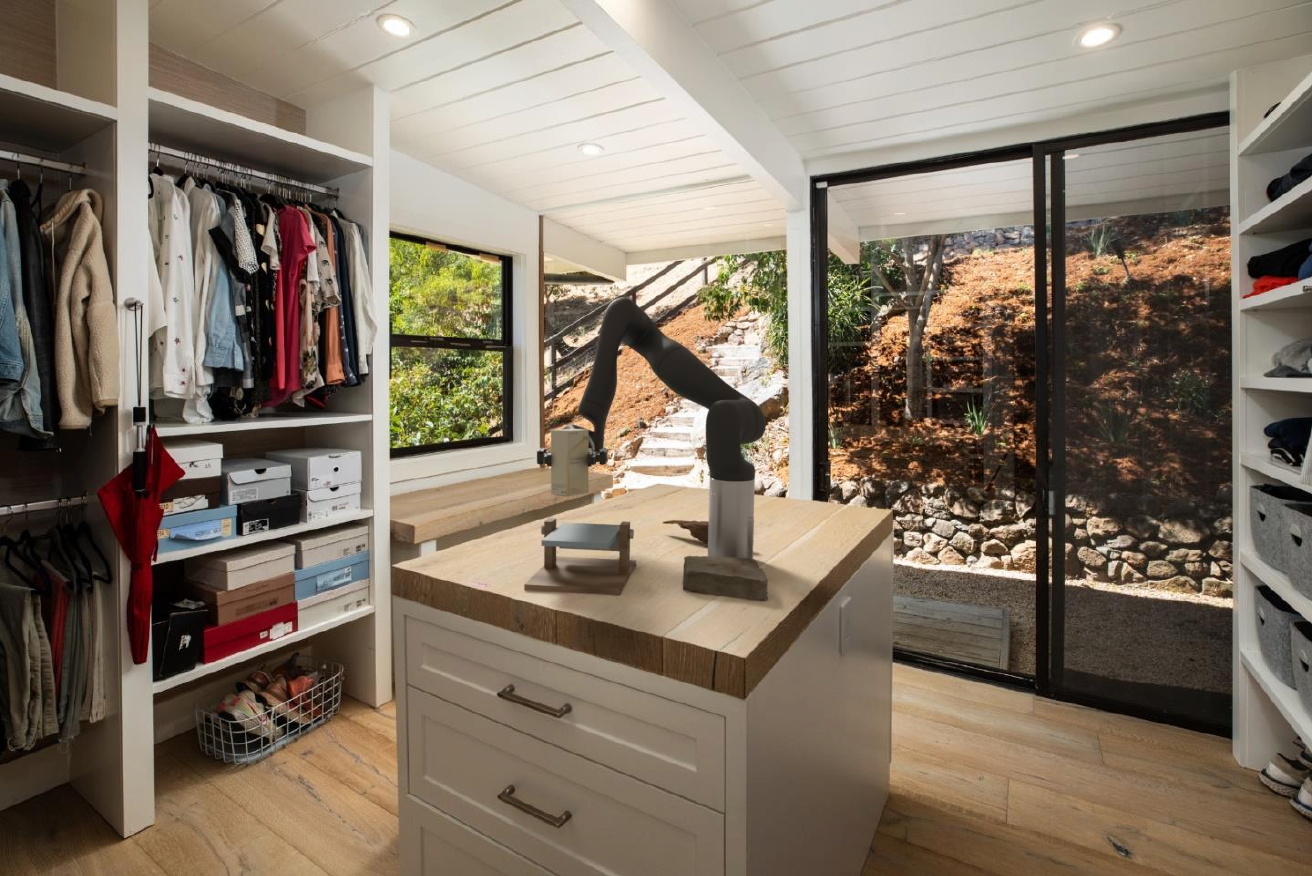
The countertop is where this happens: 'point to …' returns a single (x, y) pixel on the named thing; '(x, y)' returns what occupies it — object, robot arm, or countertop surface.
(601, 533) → the trapdoor flap
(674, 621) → the countertop surface
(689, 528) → the bird sculpture
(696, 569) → the grey brown flat block
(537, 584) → the frame
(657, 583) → the countertop surface
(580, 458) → the skincare box
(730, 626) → the countertop surface
